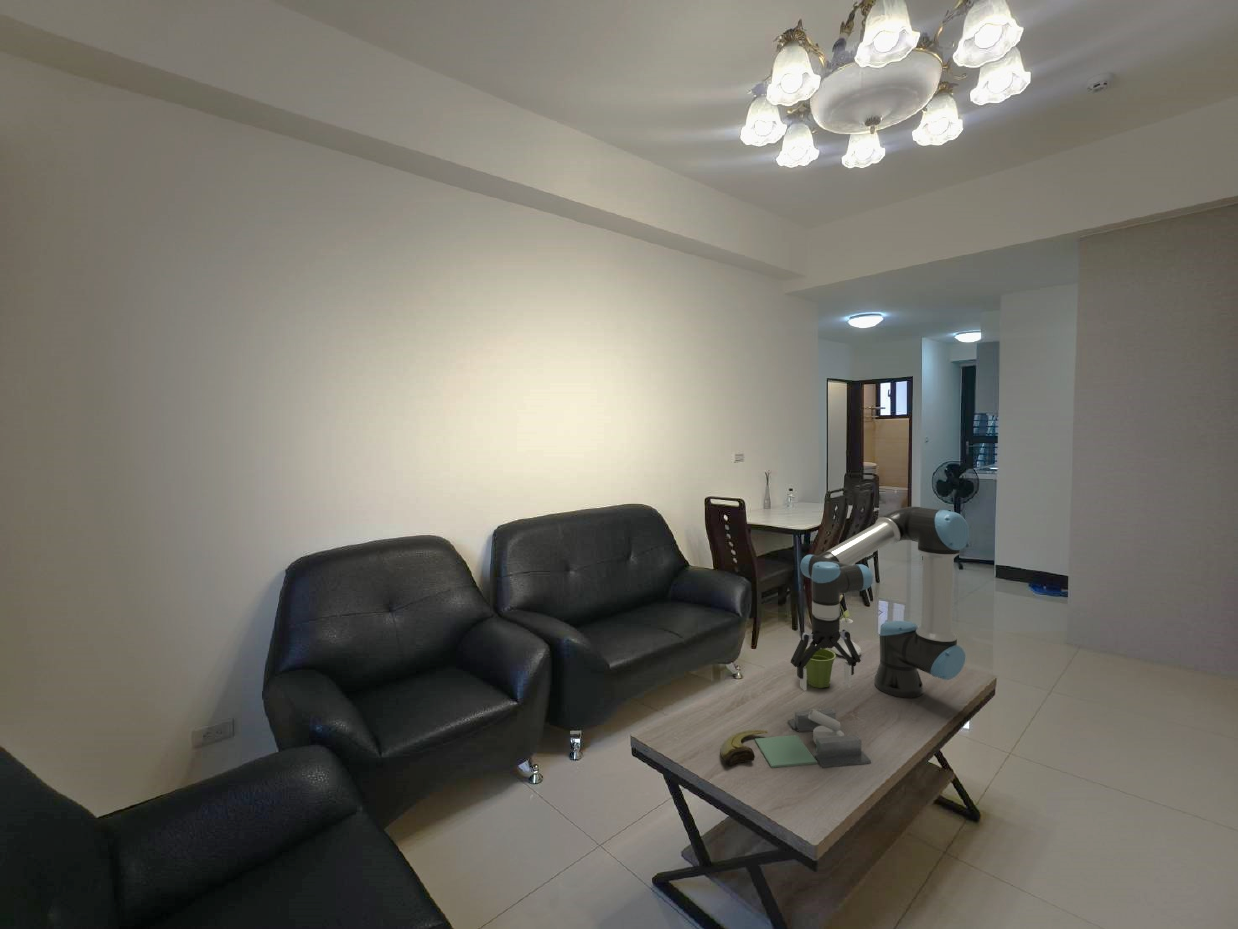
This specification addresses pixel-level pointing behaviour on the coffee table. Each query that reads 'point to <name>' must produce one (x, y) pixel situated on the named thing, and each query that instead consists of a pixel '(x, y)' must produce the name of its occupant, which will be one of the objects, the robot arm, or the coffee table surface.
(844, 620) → the flower in vase
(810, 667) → the plant pot
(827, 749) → the vise
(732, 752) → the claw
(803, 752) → the felt pad
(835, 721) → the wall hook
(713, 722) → the coffee table surface
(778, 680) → the coffee table surface
